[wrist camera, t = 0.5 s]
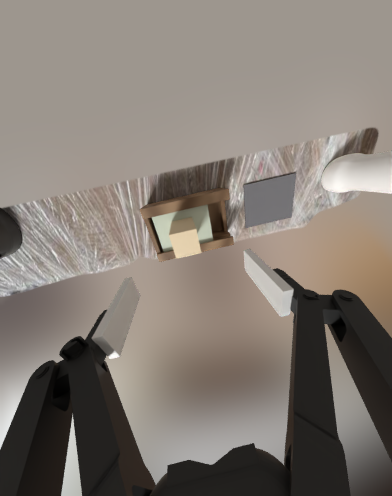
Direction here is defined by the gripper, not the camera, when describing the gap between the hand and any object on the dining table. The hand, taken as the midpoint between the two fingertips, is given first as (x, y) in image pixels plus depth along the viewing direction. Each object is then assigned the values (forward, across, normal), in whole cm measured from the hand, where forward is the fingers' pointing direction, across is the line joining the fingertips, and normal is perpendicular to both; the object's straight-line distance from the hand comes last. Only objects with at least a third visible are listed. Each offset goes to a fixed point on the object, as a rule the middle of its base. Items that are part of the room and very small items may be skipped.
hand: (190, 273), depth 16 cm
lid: (+17, 0, 0) cm, 17 cm away
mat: (+22, +23, 0) cm, 32 cm away
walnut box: (+22, +1, 0) cm, 22 cm away
